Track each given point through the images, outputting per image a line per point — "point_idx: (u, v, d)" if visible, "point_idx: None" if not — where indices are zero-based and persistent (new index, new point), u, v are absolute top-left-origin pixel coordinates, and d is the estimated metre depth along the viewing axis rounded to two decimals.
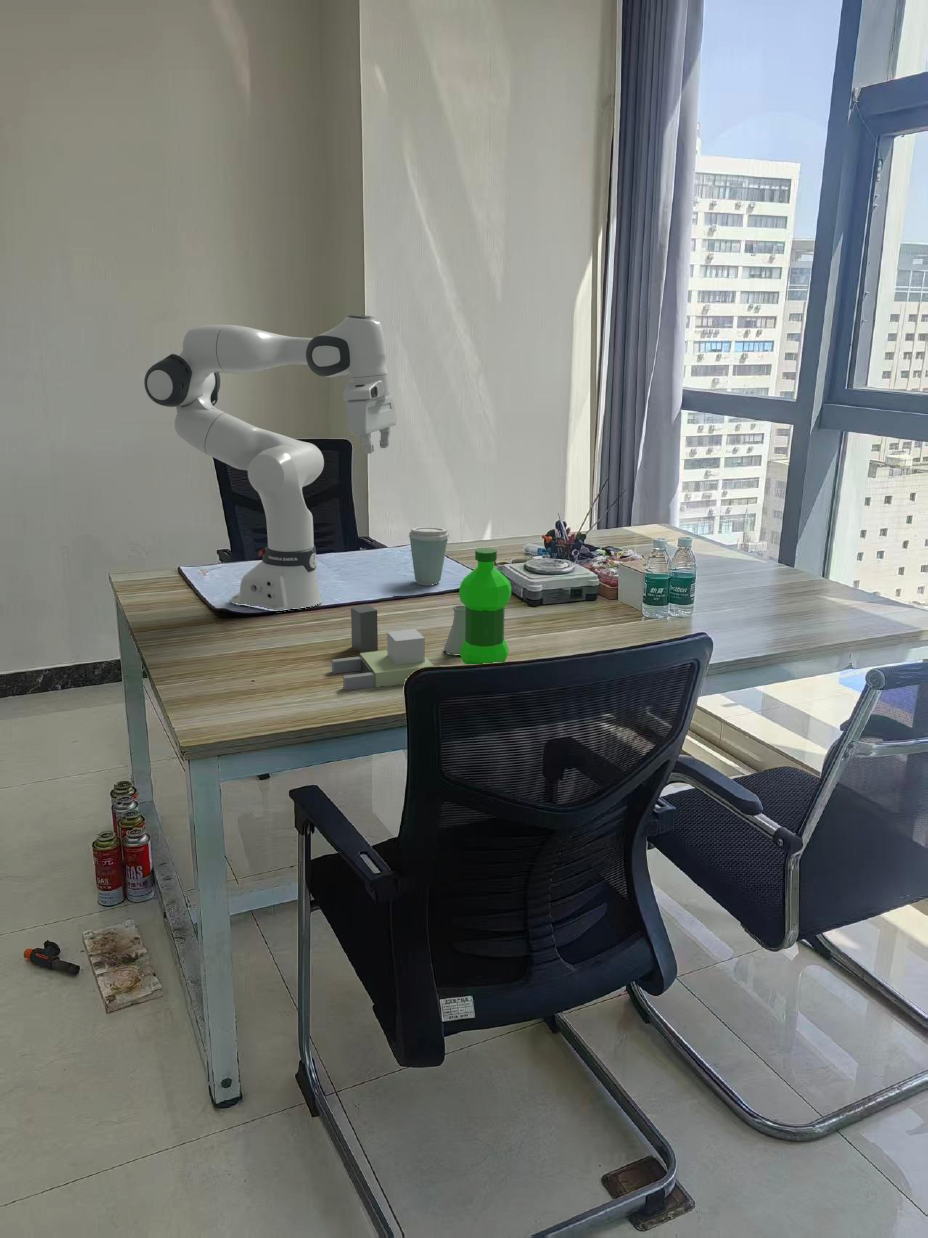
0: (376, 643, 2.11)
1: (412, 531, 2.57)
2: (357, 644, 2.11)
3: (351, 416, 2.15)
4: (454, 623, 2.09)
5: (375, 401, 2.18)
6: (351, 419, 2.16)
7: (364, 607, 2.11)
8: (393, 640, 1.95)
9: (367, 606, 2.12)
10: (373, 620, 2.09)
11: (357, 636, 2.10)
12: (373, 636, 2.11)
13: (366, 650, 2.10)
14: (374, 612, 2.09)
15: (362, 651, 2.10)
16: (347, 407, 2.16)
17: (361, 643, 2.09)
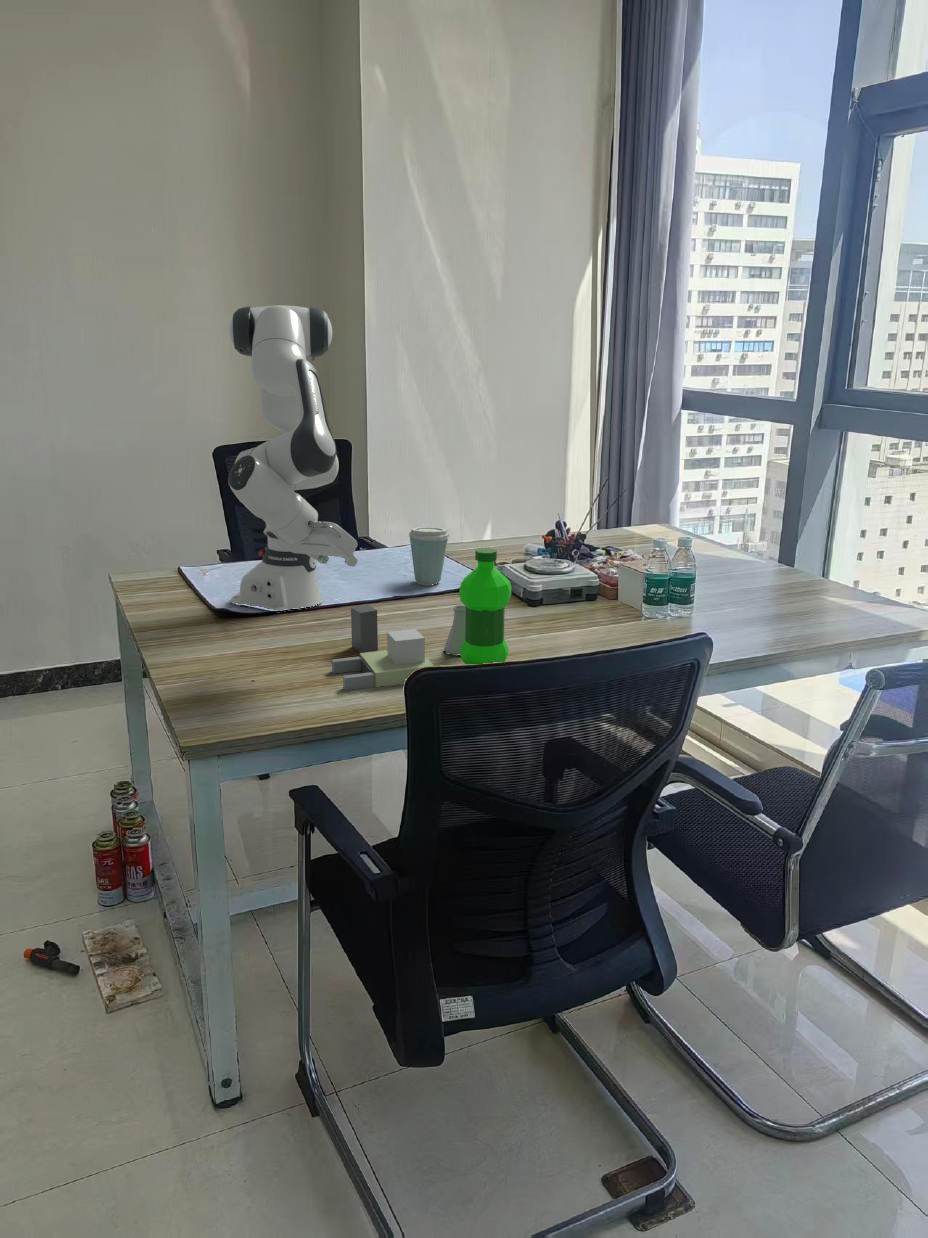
0: (376, 643, 2.11)
1: (412, 531, 2.57)
2: (357, 644, 2.11)
3: None
4: (454, 623, 2.09)
5: None
6: None
7: (364, 607, 2.11)
8: (393, 640, 1.95)
9: (367, 606, 2.12)
10: (373, 620, 2.09)
11: (357, 636, 2.10)
12: (373, 636, 2.11)
13: (366, 650, 2.10)
14: (374, 612, 2.09)
15: (362, 651, 2.10)
16: None
17: (361, 643, 2.09)
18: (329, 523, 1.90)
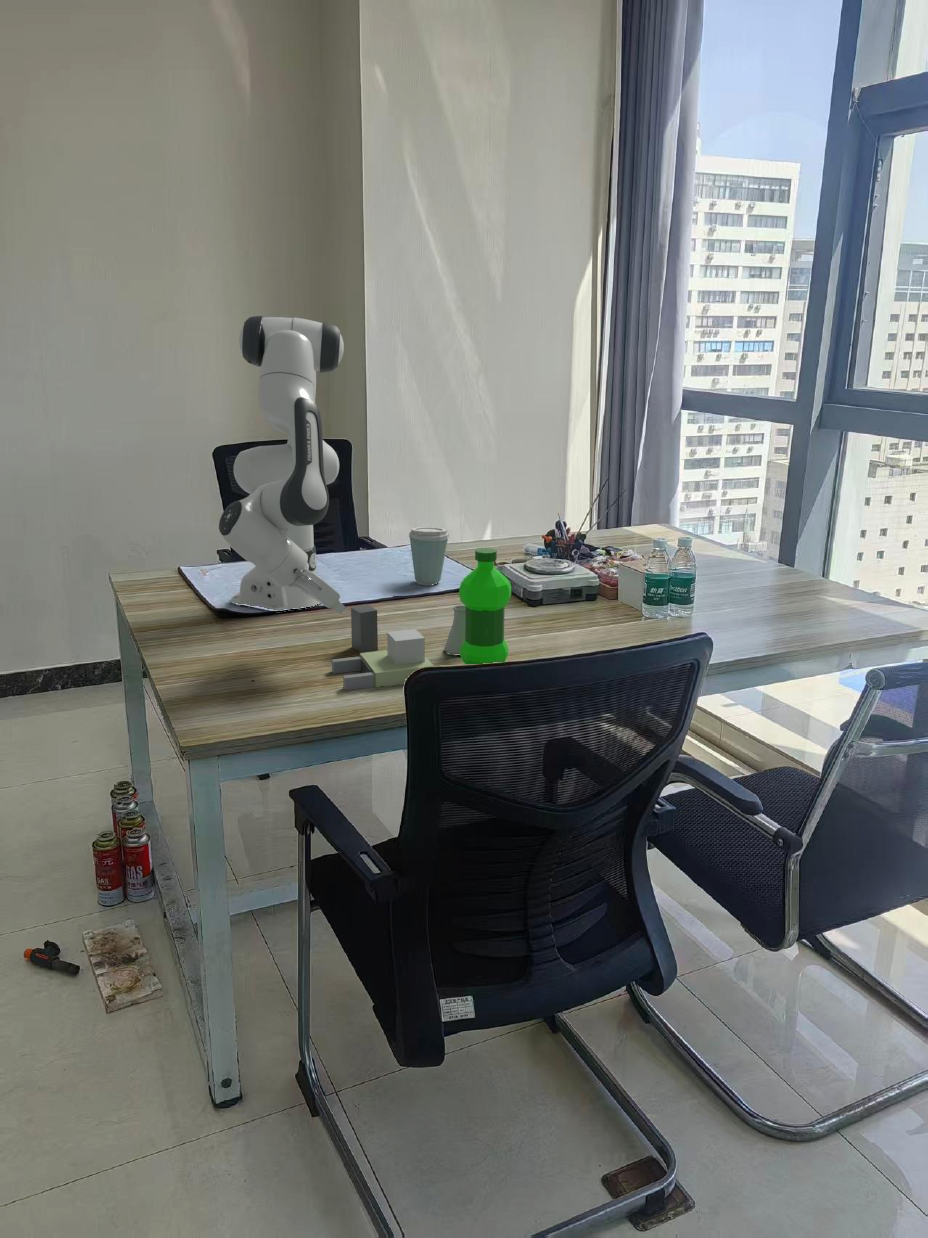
0: (376, 643, 2.11)
1: (412, 531, 2.57)
2: (357, 644, 2.11)
3: None
4: (454, 623, 2.09)
5: None
6: None
7: (364, 607, 2.11)
8: (393, 640, 1.95)
9: (367, 606, 2.12)
10: (373, 620, 2.09)
11: (357, 636, 2.10)
12: (373, 636, 2.11)
13: (366, 650, 2.10)
14: (374, 612, 2.09)
15: (362, 651, 2.10)
16: None
17: (361, 643, 2.09)
18: (312, 574, 1.93)
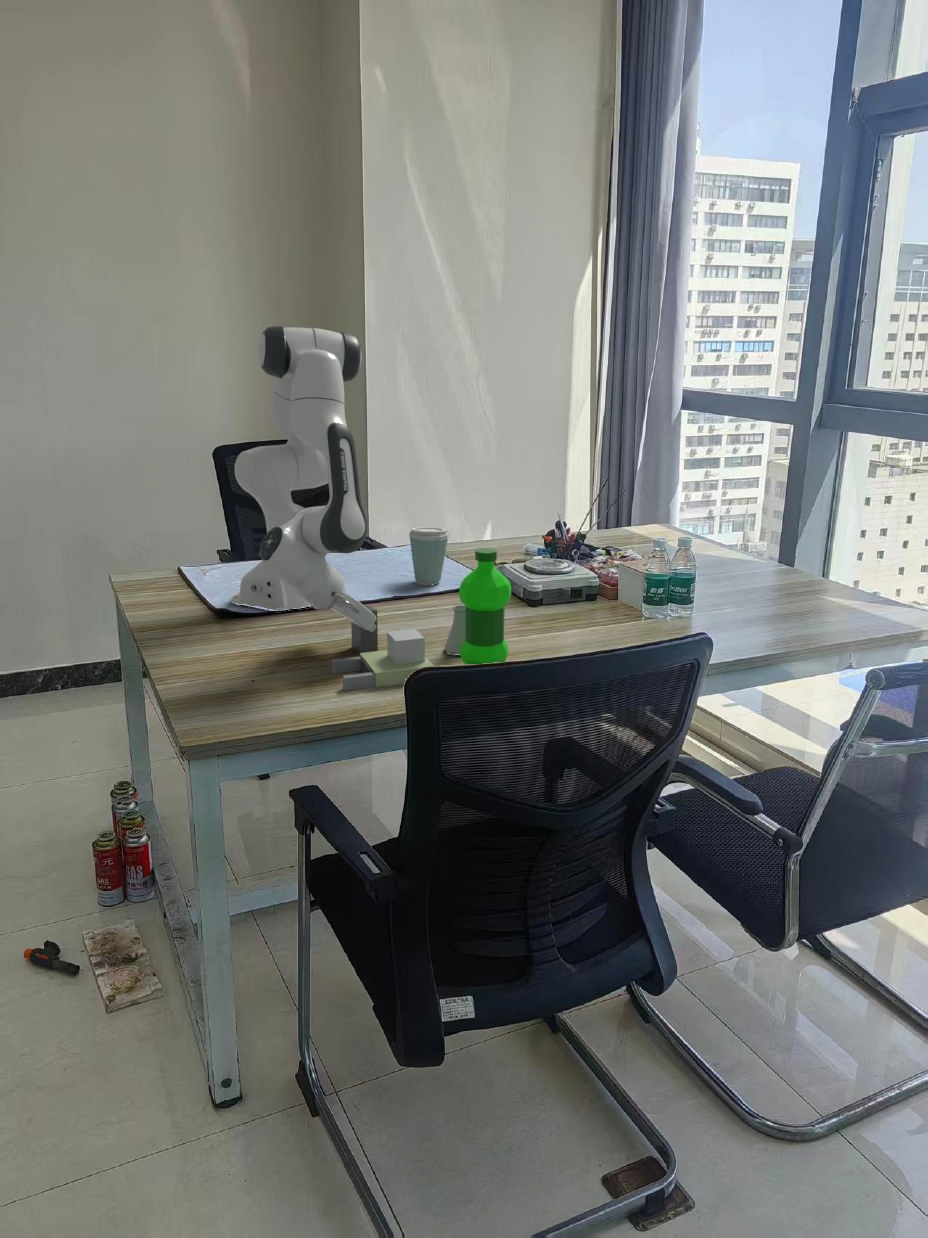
0: (376, 643, 2.11)
1: (412, 531, 2.57)
2: (357, 644, 2.11)
3: None
4: (454, 623, 2.09)
5: None
6: None
7: None
8: (393, 640, 1.95)
9: (367, 606, 2.12)
10: None
11: (357, 636, 2.10)
12: (373, 636, 2.11)
13: (366, 650, 2.10)
14: (374, 612, 2.09)
15: (362, 651, 2.10)
16: None
17: (361, 643, 2.09)
18: (349, 597, 1.98)
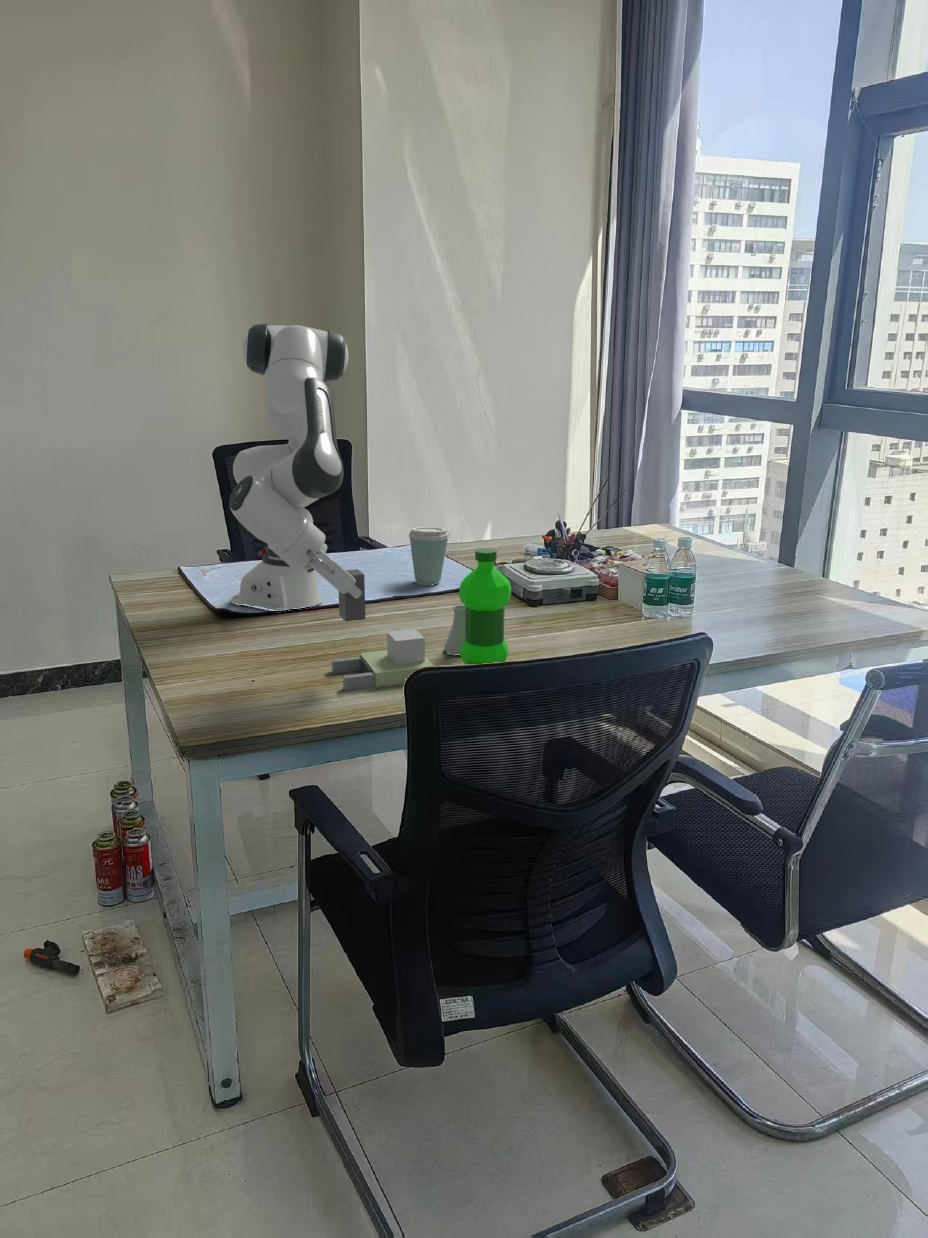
0: (364, 611, 1.91)
1: (412, 531, 2.57)
2: (342, 611, 1.91)
3: None
4: (454, 623, 2.09)
5: None
6: None
7: (352, 571, 1.91)
8: (393, 640, 1.95)
9: (356, 570, 1.92)
10: (360, 585, 1.89)
11: (342, 603, 1.91)
12: (360, 604, 1.90)
13: (351, 618, 1.90)
14: (361, 576, 1.89)
15: (347, 619, 1.90)
16: None
17: (345, 610, 1.90)
18: (325, 556, 1.79)
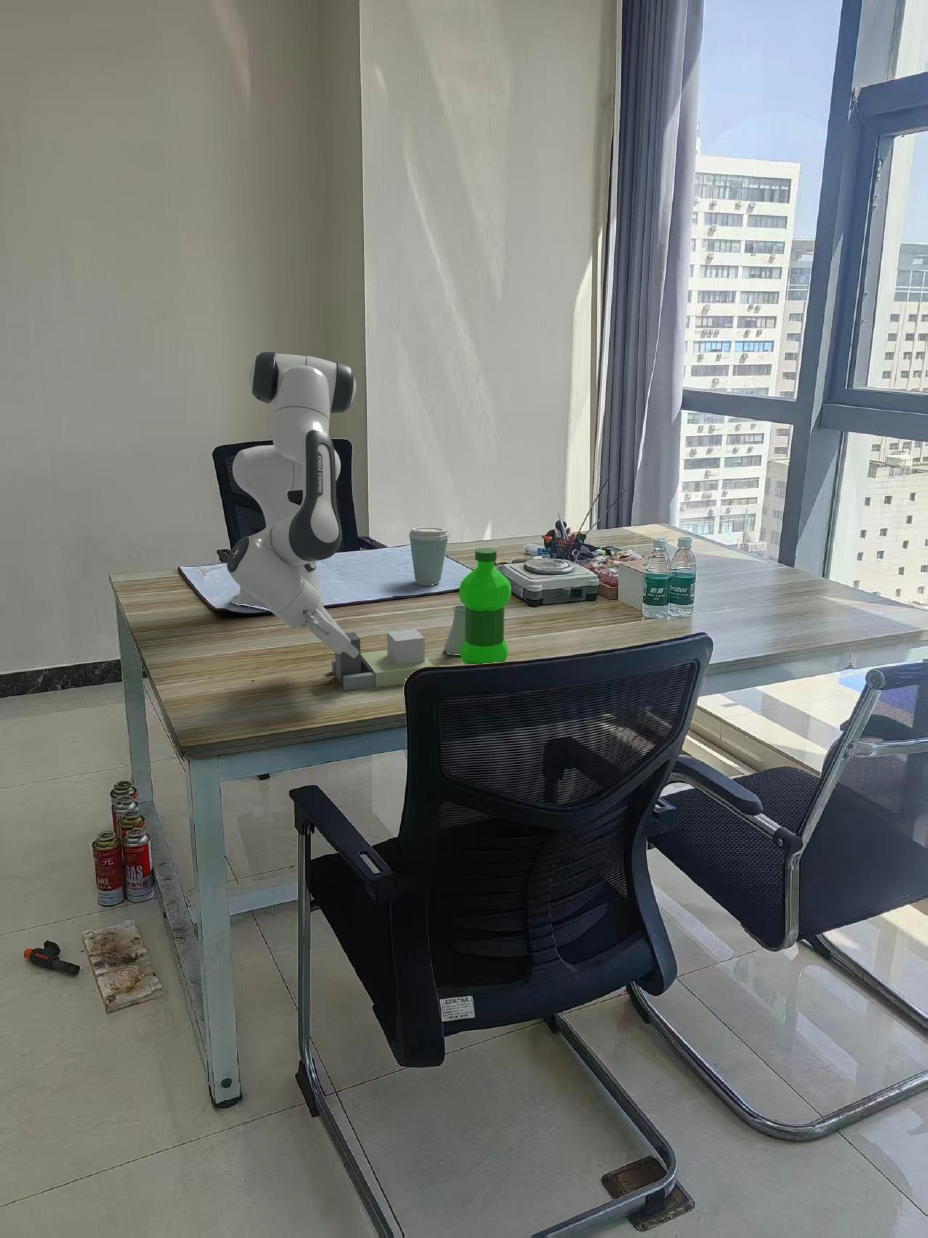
0: None
1: (412, 531, 2.57)
2: (338, 674, 1.94)
3: None
4: (454, 623, 2.09)
5: None
6: None
7: (348, 635, 1.94)
8: (393, 640, 1.95)
9: (352, 634, 1.94)
10: None
11: (338, 666, 1.93)
12: (356, 667, 1.93)
13: None
14: (356, 641, 1.91)
15: (342, 682, 1.93)
16: None
17: (341, 674, 1.92)
18: (320, 617, 1.81)
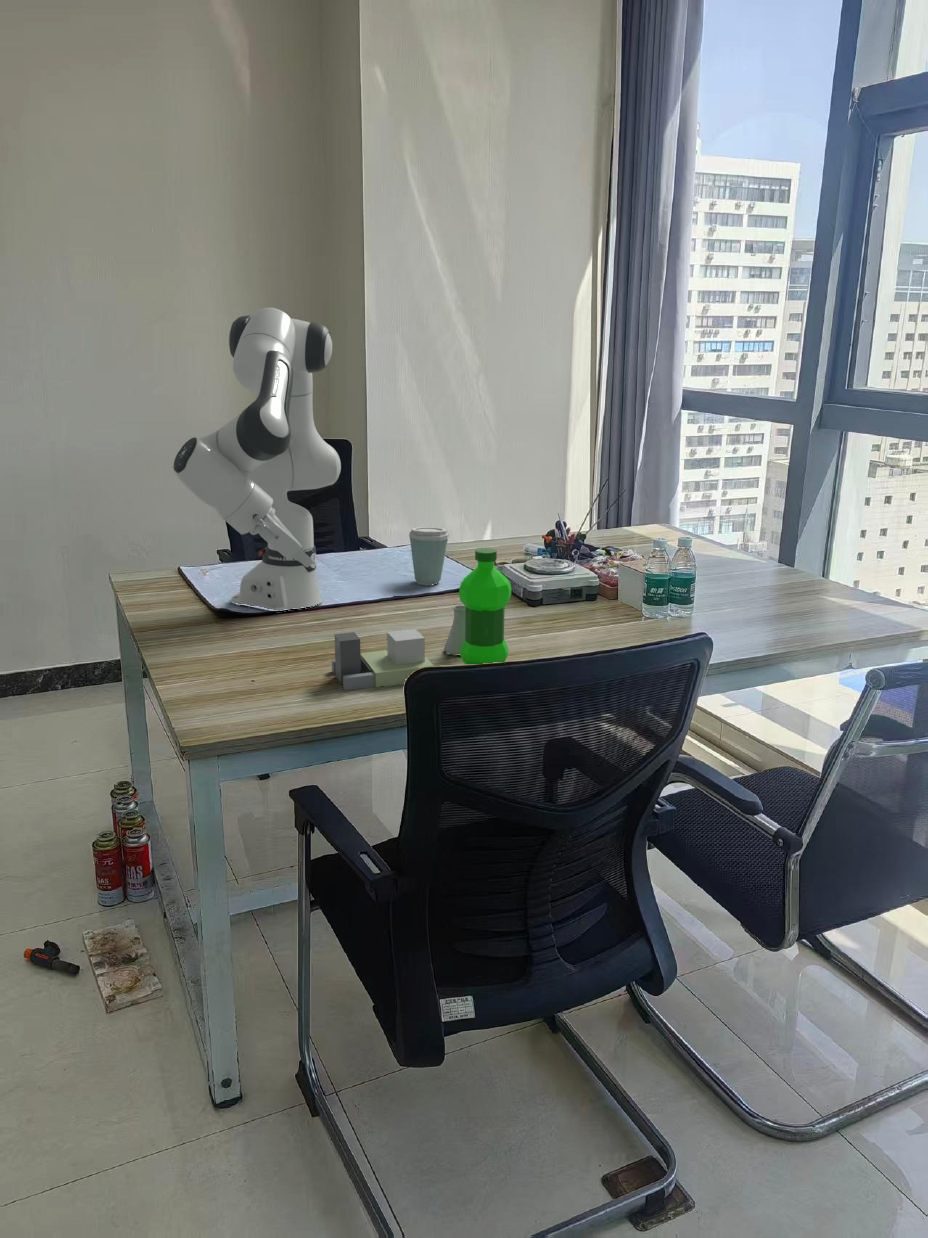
0: None
1: (412, 531, 2.57)
2: (338, 674, 1.94)
3: None
4: (454, 623, 2.09)
5: None
6: None
7: (348, 635, 1.94)
8: (393, 640, 1.95)
9: (352, 634, 1.94)
10: (355, 650, 1.92)
11: (338, 666, 1.93)
12: (356, 667, 1.93)
13: None
14: (356, 641, 1.91)
15: (342, 682, 1.93)
16: None
17: (341, 674, 1.92)
18: (269, 521, 1.76)
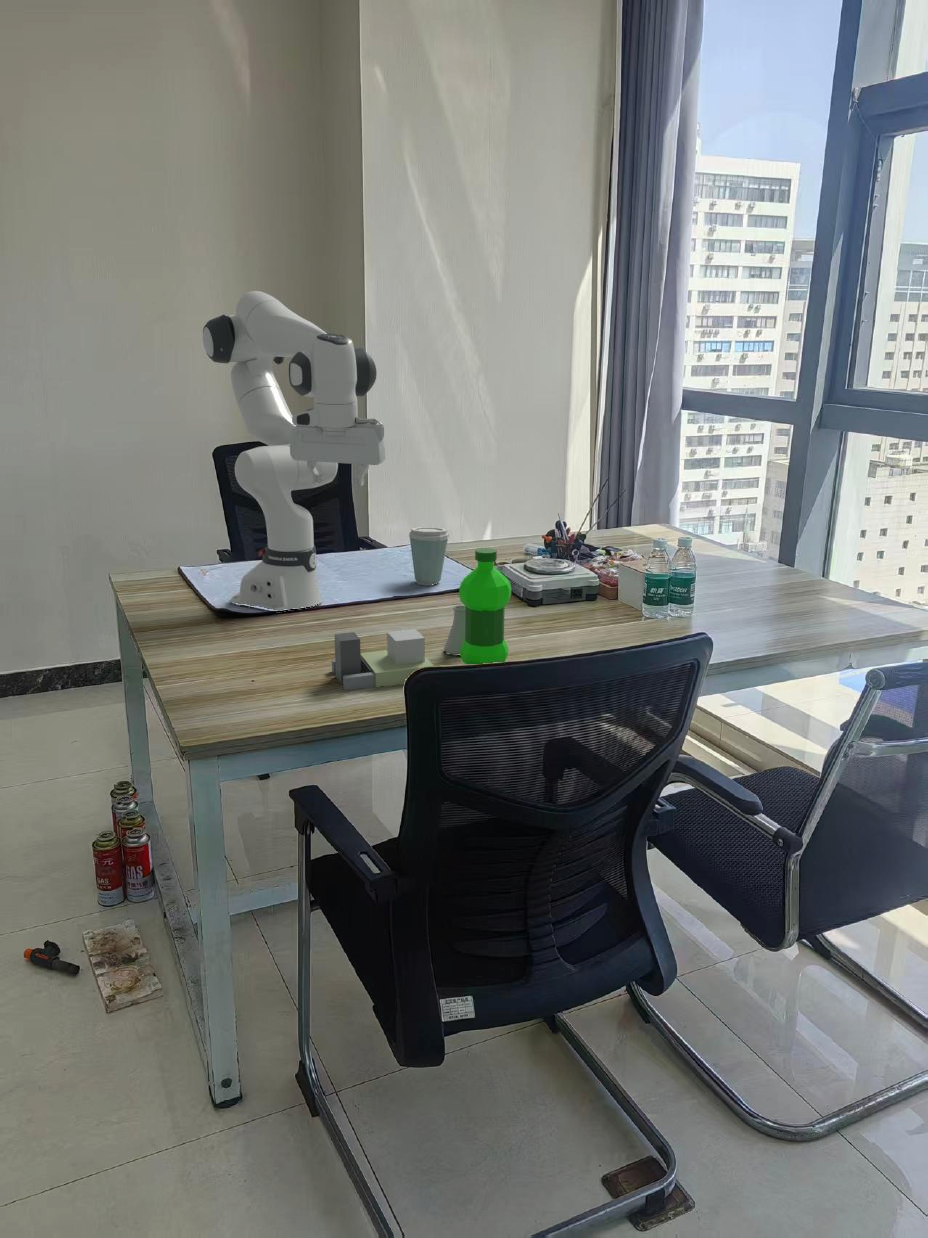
0: None
1: (412, 531, 2.57)
2: (338, 674, 1.94)
3: None
4: (454, 623, 2.09)
5: (310, 429, 2.01)
6: None
7: (348, 635, 1.94)
8: (393, 640, 1.95)
9: (352, 634, 1.94)
10: (355, 650, 1.92)
11: (338, 666, 1.93)
12: (356, 667, 1.93)
13: None
14: (356, 641, 1.91)
15: (342, 682, 1.93)
16: None
17: (341, 674, 1.92)
18: None
